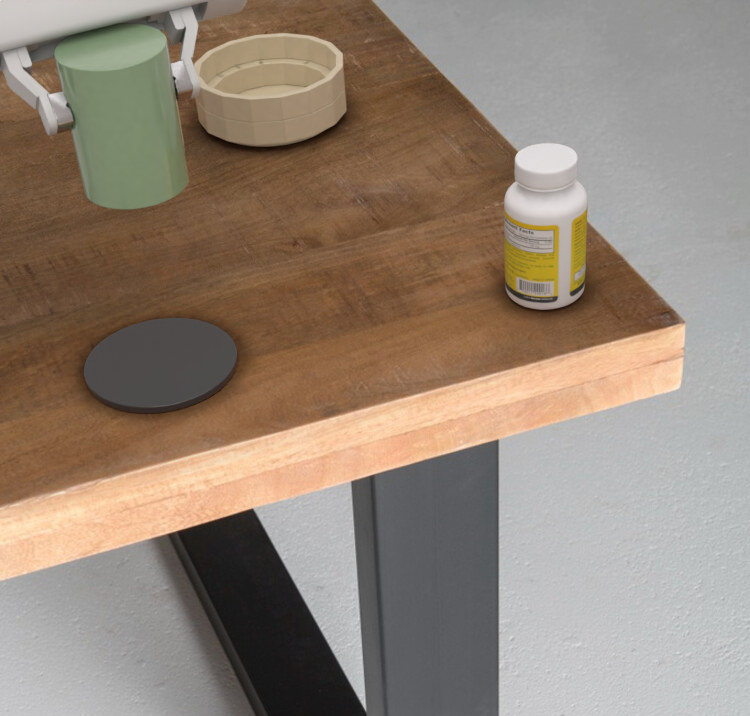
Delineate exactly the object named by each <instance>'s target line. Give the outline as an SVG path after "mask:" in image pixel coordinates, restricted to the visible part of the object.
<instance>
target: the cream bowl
mask: <svg viewBox="0 0 750 716" xmlns="http://www.w3.org/2000/svg"><path fill="white" fill-rule="evenodd" d="M344 60H345V59H344V54H343V52H342V51H341V50H340V49H339V48H338V47H337V46H336V45H335V44H333V43H332V42H330V41H327V40H325V39H322V38H320V37H316V36H313V35H310V34H309V35H308V34H298V33H290V32H289V33H288V32H278V33H266V34H253V35H250V36H246V37H242V38H238V39H233V40H229V41H226V42H225V43H222V44H221V45H218V46H216V47H214V48H211V49H209V50H207V51H206V52H205V53H204V54H202V56H201V57H200V58H198V59H197V60H196V61H195V62H194V63H193V65H194V67H195V70H196V73H197V75H198V78H199V81H200V87H201V90H200V93H199V95H198V97H195V98H194V100H195V104H196V111H197V118H198V122H199V124H201V126H202V127H203V128H204V130H205V131H206V133H207V134H210V135H212V136H214V137H216V138H219V139H221V140H223V141H226V142H229V143H233V144H236V145H241V146H246V147H258V148H259V147H260V148H261V147H263V148H264V147H266V148H267V147H268V148H269V147H281V146H287V145H292V144H296V143H301V142H303V141H306V140H309V139H311V138H314V137H316V136H318V135H319V134H321V133H323V132H325V131H327V130H328V129H330V128H331V127H334V126H335V125H336V124H337V123H338V122H339V121H340V120H341V119H342V117H343V116H344V115H345V114H346V113H347V105H348V104H347V103H348V102H347V100H348V99H347V87H346V75H345V74H346V73H345V63H344V62H345V61H344Z"/></svg>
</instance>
